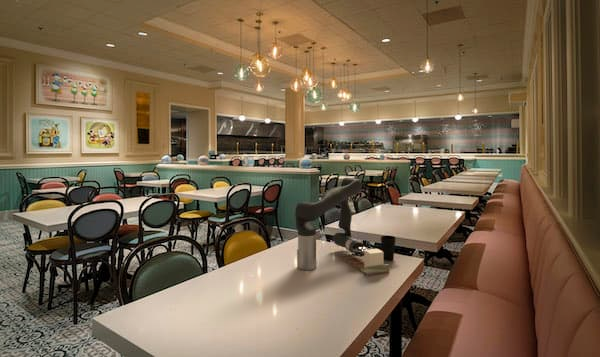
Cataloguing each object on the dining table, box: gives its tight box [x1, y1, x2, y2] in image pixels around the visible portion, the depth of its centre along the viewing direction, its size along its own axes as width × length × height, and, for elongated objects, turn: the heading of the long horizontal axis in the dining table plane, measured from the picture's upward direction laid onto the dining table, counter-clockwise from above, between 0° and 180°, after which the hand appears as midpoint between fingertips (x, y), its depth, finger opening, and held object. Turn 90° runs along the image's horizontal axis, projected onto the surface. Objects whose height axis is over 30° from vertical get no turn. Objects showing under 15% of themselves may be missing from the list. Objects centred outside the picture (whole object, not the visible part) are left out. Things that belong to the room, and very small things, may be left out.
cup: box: [380, 235, 397, 262], centre depth 186 cm, size 8×8×12 cm
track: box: [341, 254, 390, 277], centre depth 179 cm, size 29×12×4 cm, turn 17°
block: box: [364, 248, 384, 269], centre depth 169 cm, size 6×7×9 cm
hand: (370, 256), depth 171 cm, fingers closed
